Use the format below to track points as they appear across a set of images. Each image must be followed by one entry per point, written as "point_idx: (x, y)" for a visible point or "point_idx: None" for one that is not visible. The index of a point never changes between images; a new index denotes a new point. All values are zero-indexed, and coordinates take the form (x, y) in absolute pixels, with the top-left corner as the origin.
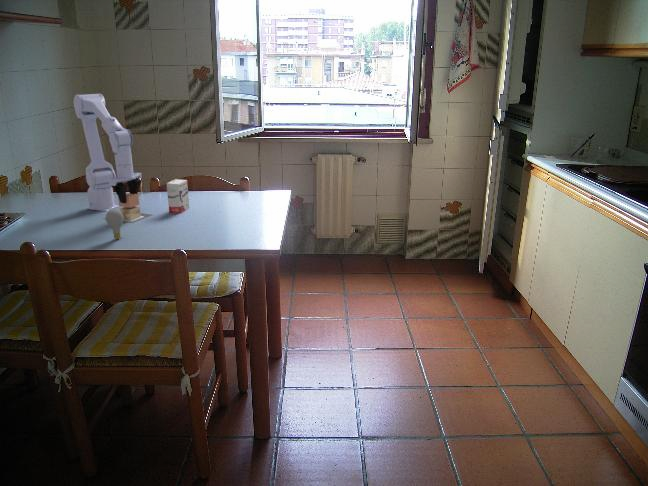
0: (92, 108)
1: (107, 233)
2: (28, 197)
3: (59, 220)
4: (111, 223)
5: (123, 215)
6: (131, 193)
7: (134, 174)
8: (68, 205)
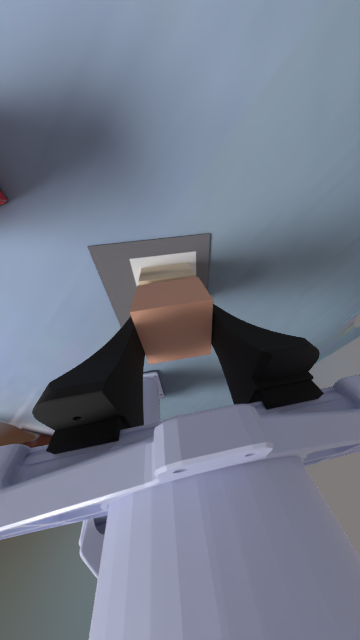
0: None
1: (320, 219)
2: None
3: None
4: None
5: None
6: (143, 348)
7: (59, 515)
8: (162, 417)
